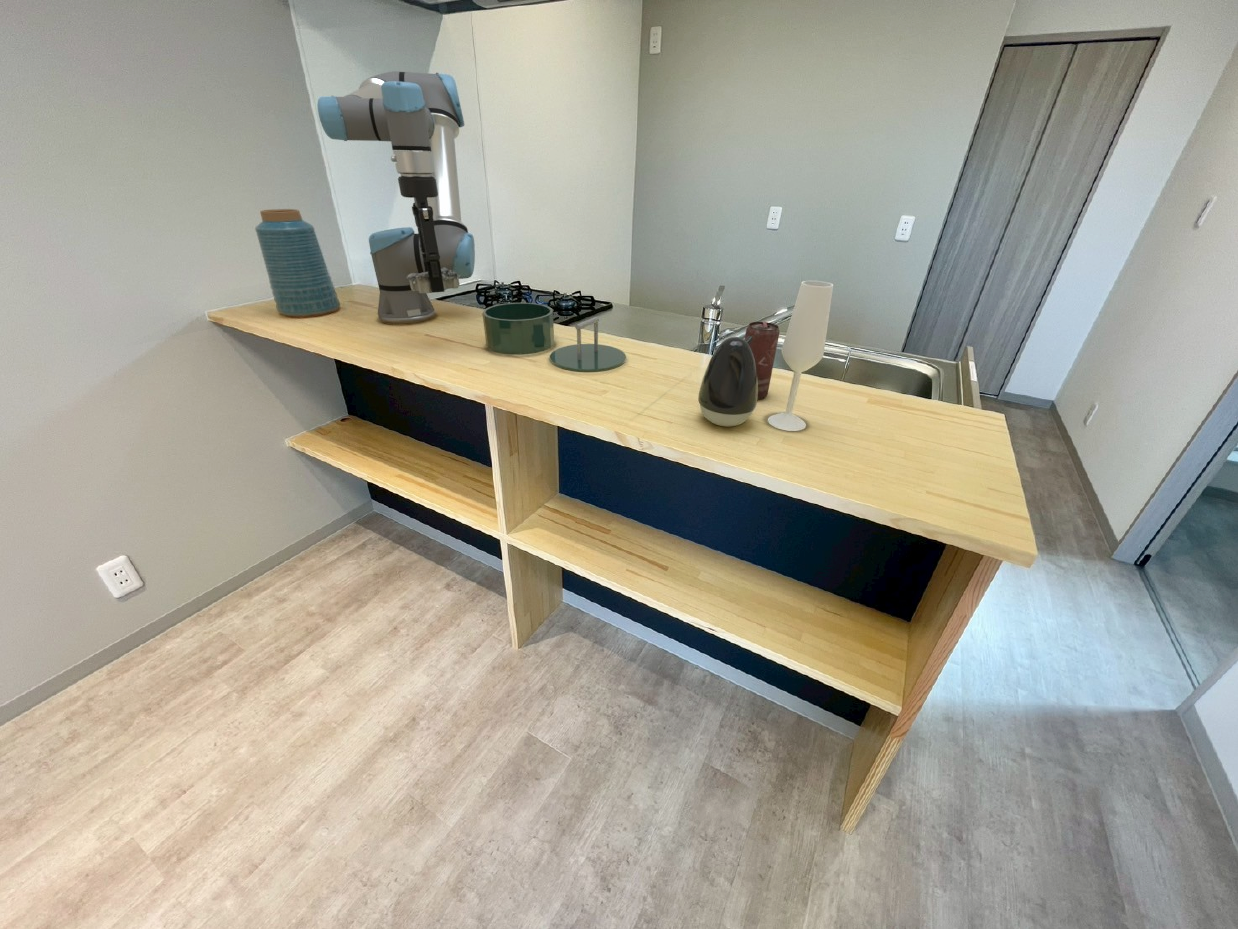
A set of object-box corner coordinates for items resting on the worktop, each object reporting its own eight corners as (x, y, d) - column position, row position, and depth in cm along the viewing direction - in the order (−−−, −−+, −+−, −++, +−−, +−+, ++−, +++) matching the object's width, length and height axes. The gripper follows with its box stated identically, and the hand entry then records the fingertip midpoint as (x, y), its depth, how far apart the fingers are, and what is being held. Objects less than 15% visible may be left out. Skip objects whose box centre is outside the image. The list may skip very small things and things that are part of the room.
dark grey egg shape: (764, 419, 89) (780, 337, 81) (733, 439, 83) (747, 351, 75) (716, 403, 95) (727, 324, 87) (684, 420, 89) (692, 337, 81)
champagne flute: (764, 413, 92) (789, 278, 79) (800, 414, 91) (832, 279, 79) (772, 430, 86) (801, 287, 73) (811, 431, 86) (847, 289, 73)
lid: (534, 364, 111) (531, 323, 106) (578, 344, 124) (577, 306, 119) (600, 380, 104) (600, 337, 99) (639, 357, 117) (640, 317, 112)
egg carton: (422, 295, 109) (418, 275, 107) (406, 289, 113) (402, 270, 111) (464, 287, 116) (462, 269, 113) (448, 282, 120) (445, 264, 118)
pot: (472, 348, 120) (467, 313, 115) (517, 332, 132) (514, 299, 128) (525, 361, 113) (522, 324, 108) (567, 342, 125) (566, 308, 121)
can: (764, 388, 102) (777, 320, 94) (769, 401, 96) (783, 330, 89) (734, 386, 102) (745, 319, 95) (738, 399, 97) (749, 328, 90)
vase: (332, 317, 140) (302, 213, 126) (269, 319, 137) (231, 213, 123) (347, 303, 154) (322, 208, 140) (290, 305, 151) (259, 207, 137)
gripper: (394, 173, 109) (414, 278, 122) (400, 177, 93) (423, 299, 105) (429, 173, 112) (446, 276, 124) (441, 178, 95) (459, 296, 107)
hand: (435, 286), depth 114 cm, fingers closed on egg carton, 9 cm apart
